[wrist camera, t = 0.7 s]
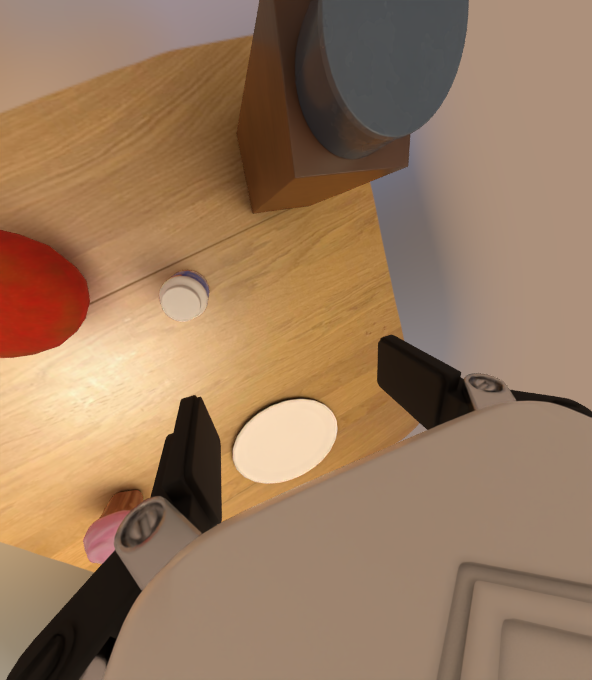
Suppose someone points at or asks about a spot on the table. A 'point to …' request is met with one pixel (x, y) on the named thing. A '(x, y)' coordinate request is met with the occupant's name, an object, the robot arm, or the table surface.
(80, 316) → the apple
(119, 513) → the cupcake
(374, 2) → the tin
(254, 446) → the plate
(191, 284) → the pill bottle
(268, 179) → the stand
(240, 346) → the table surface
